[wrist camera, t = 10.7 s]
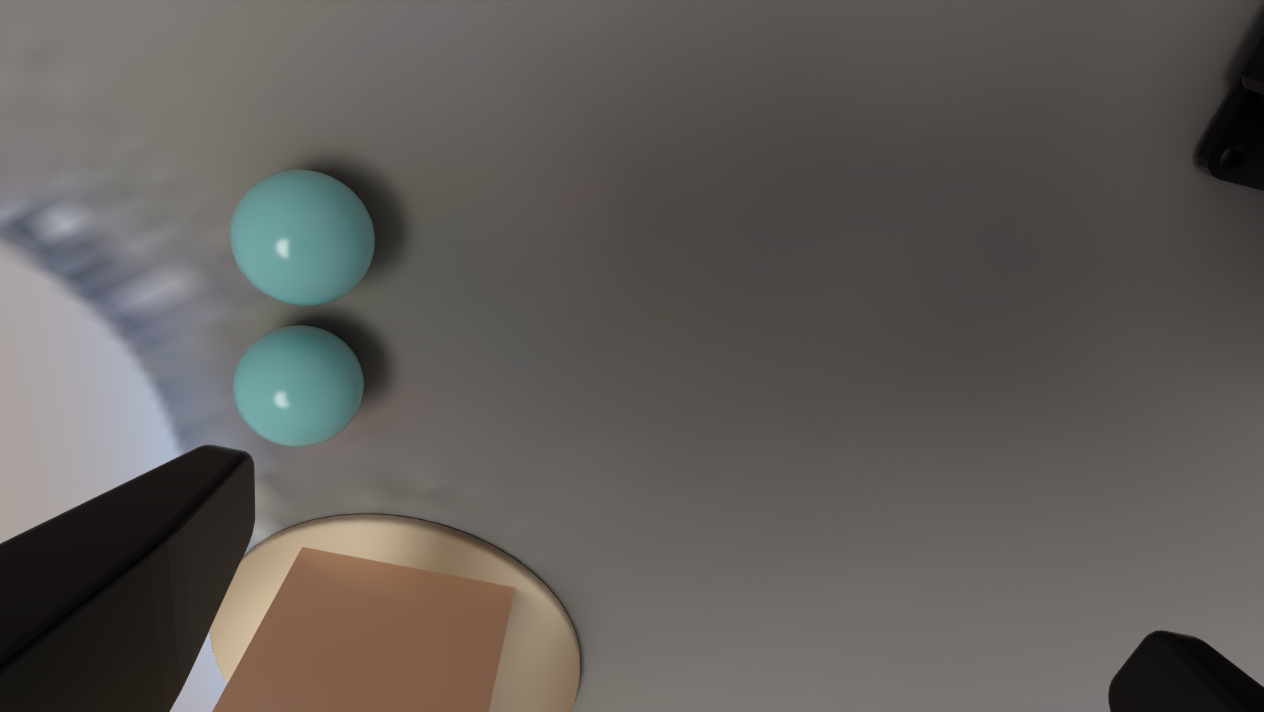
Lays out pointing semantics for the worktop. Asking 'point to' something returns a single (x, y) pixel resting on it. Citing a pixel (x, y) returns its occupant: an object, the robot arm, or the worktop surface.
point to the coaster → (537, 626)
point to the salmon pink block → (372, 641)
